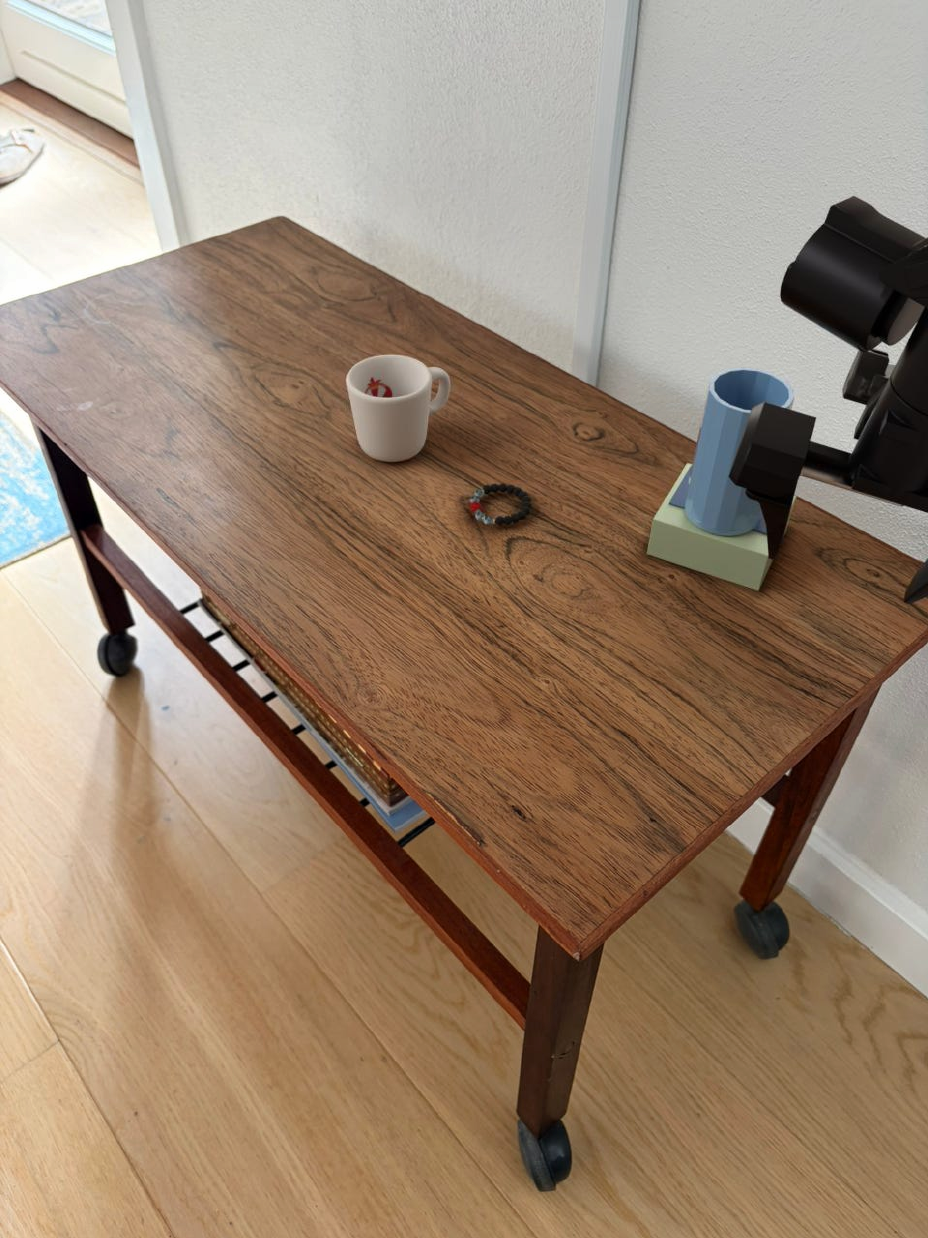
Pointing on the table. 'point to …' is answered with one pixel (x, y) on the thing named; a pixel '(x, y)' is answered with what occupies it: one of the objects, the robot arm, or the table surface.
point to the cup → (394, 404)
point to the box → (708, 542)
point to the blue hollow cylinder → (728, 449)
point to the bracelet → (507, 520)
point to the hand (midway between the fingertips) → (838, 576)
